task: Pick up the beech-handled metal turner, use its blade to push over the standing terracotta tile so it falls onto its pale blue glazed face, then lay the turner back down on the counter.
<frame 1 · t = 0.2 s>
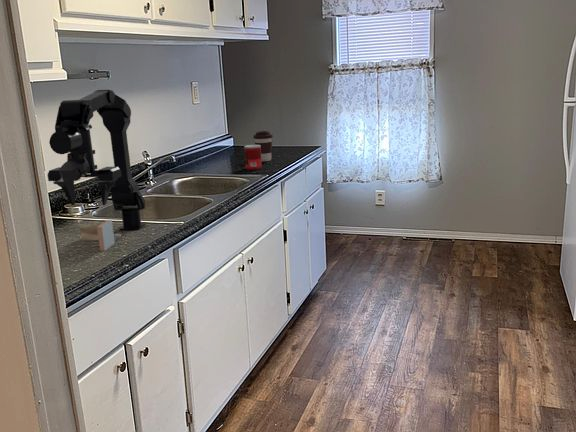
hand: (88, 204, 159), 14 cm above the worktop, fingers open, 9 cm apart
coffee cup: (264, 160, 305), on the worktop
tile: (107, 246, 169), on the worktop
canned food: (253, 168, 284), on the worktop
turner: (93, 238, 178), on the worktop
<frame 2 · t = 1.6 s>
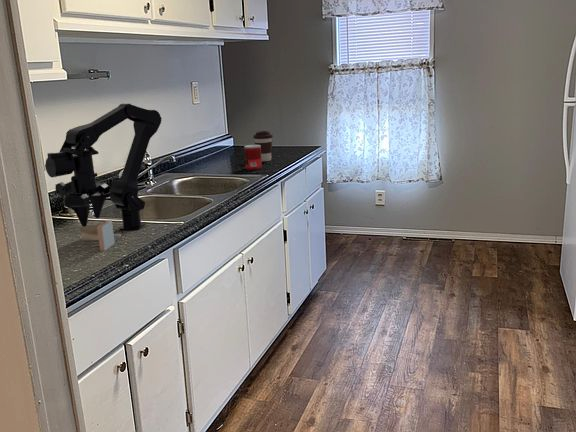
hand: (91, 222, 177), 5 cm above the worktop, fingers open, 9 cm apart
nothing on the worktop moved.
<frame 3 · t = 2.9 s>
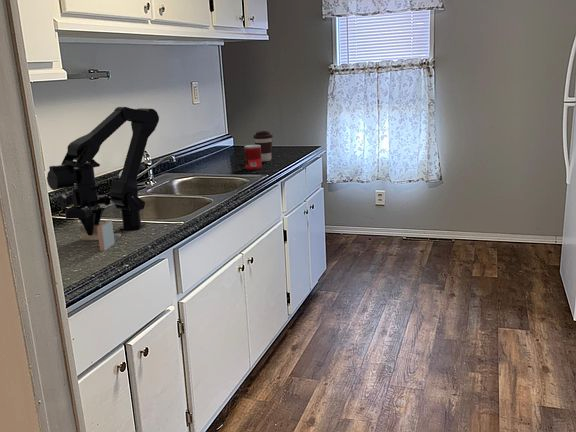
hand: (92, 233, 178), 2 cm above the worktop, fingers closed on turner, 3 cm apart
turner: (93, 238, 178), on the worktop, touching gripper
everything else where it was.
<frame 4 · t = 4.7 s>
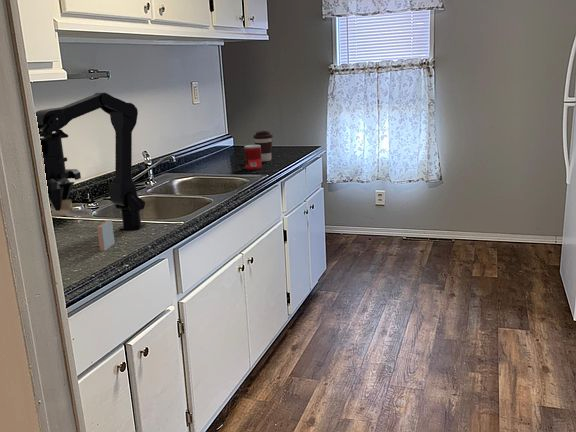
hand: (60, 209, 168), 11 cm above the worktop, fingers closed on turner, 3 cm apart
turner: (61, 214, 168), point 10 cm above the worktop, touching gripper
everything else where it was.
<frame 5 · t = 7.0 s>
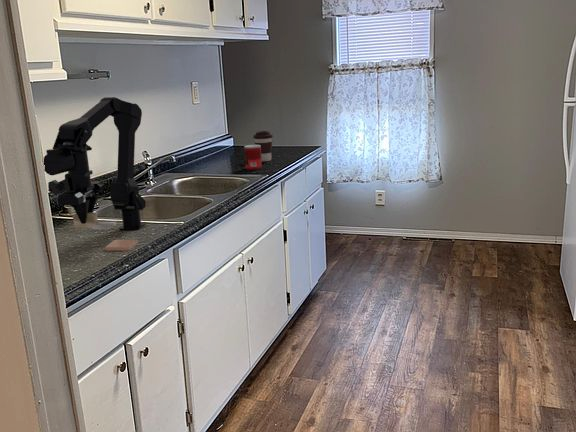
hand: (85, 222, 168), 7 cm above the worktop, fingers closed on turner, 3 cm apart
tile: (110, 245, 169), on the worktop, tilted 90°
turner: (86, 227, 169), point 6 cm above the worktop, touching gripper
everything else where it was.
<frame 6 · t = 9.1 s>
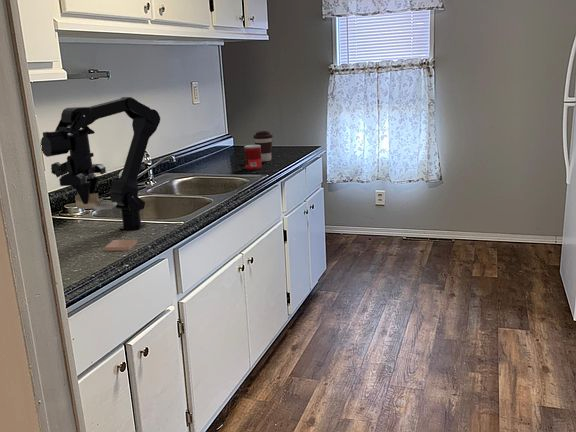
hand: (87, 202, 175), 11 cm above the worktop, fingers closed on turner, 3 cm apart
turner: (88, 207, 175), point 10 cm above the worktop, touching gripper
everything else where it was.
when the fingers open (2 cm above the worktop, at t = 11.0 s): turner drops 1 cm, on the worktop.
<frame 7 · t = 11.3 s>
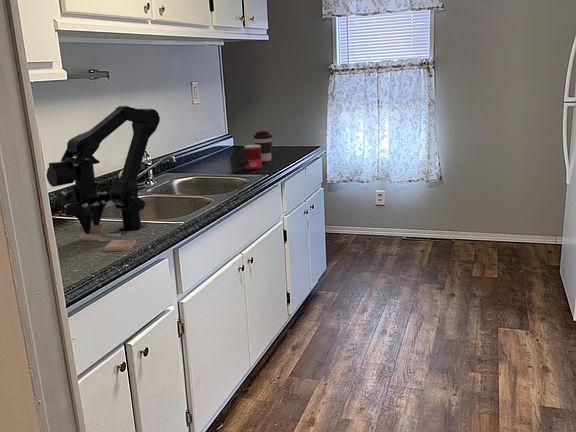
hand: (92, 230, 177), 2 cm above the worktop, fingers open, 6 cm apart
turner: (92, 238, 178), on the worktop
everything else where it was.
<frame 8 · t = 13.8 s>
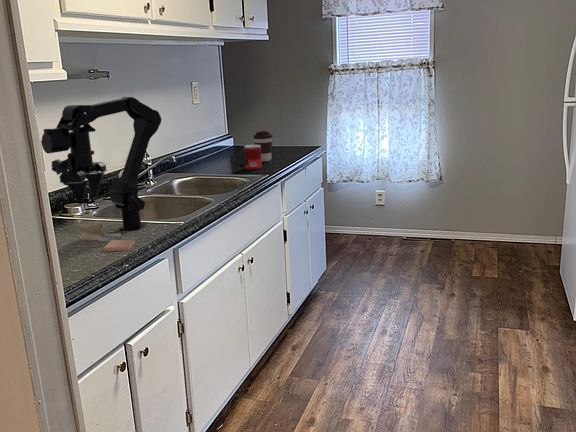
hand: (87, 200, 175), 12 cm above the worktop, fingers open, 9 cm apart
nothing on the worktop moved.
at the end: tile tilted 90°; tile inside the target area (2.0 cm from its centre), on the worktop; turner inside the target area (0.1 cm from its centre), on the worktop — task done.
